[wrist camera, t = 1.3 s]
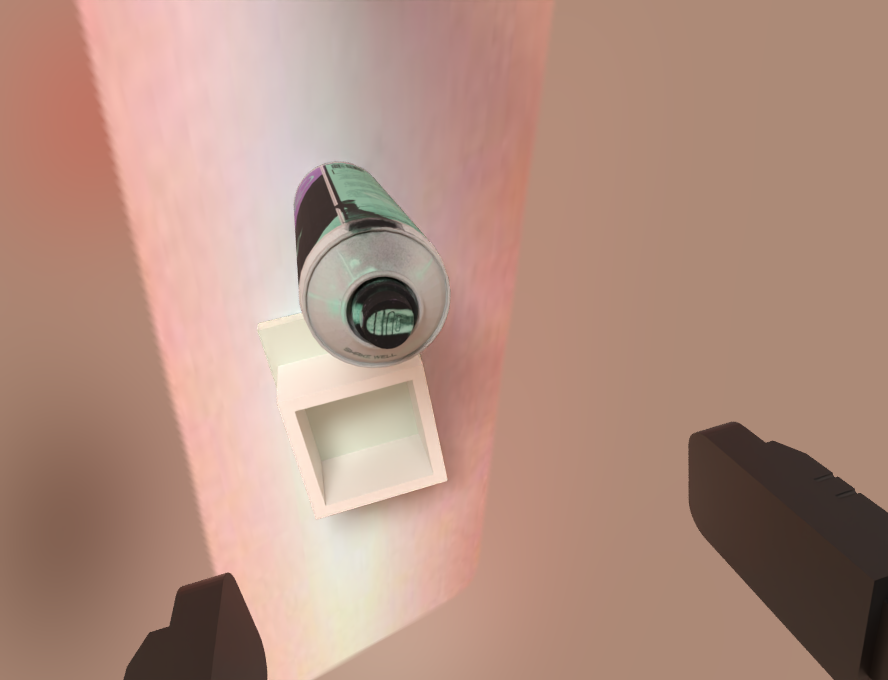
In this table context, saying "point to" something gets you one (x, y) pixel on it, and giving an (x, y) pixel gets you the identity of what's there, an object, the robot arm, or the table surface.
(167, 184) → the table surface
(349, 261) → the spray can
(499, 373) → the table surface
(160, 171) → the table surface
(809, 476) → the robot arm
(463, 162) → the table surface
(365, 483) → the can holder
